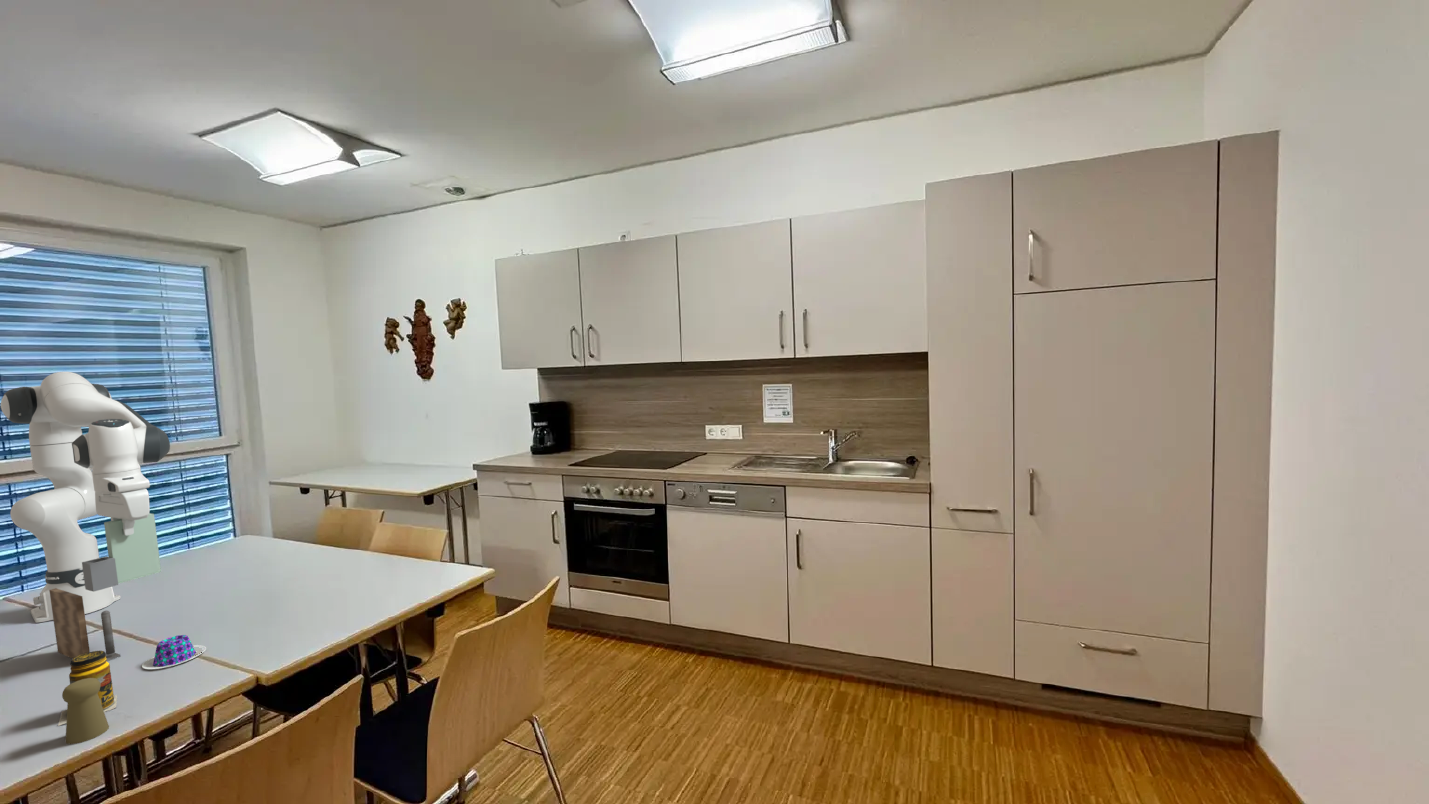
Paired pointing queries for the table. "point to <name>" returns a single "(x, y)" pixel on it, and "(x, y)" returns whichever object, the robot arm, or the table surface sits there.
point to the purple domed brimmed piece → (172, 652)
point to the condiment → (93, 668)
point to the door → (124, 555)
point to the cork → (84, 711)
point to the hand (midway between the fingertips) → (124, 534)
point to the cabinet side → (76, 625)
